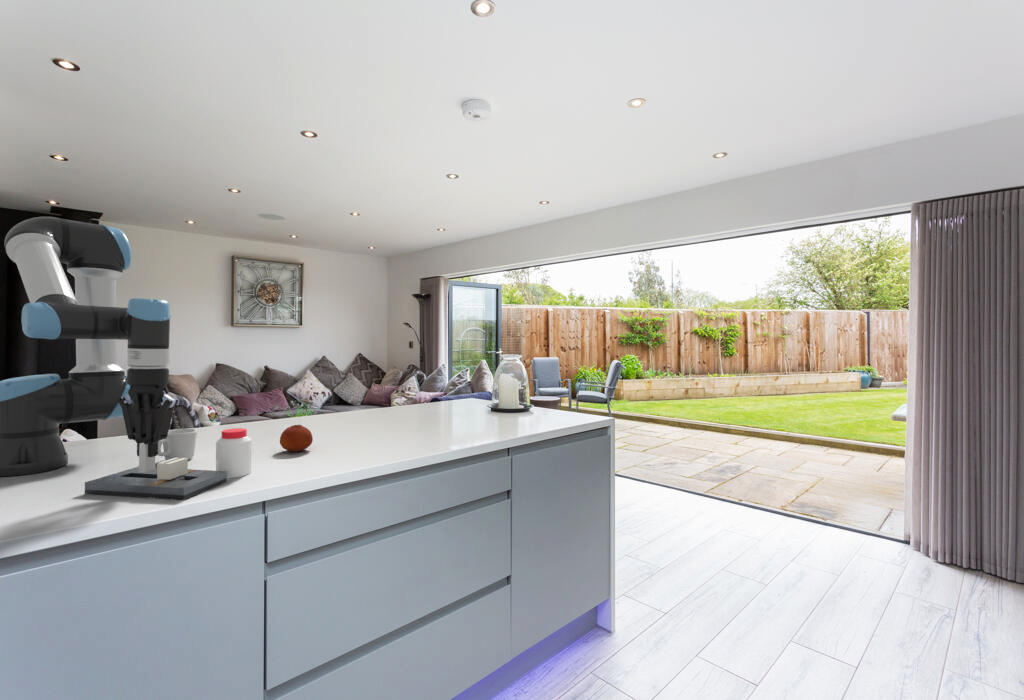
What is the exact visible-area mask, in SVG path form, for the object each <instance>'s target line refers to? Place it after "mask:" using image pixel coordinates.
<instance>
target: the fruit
mask: <svg viewBox="0 0 1024 700" xmlns="http://www.w3.org/2000/svg"><path fill="white" fill-rule="evenodd" d="M313 441H314V439H313V434H312V432H311V430H310V429H308V428H307V427H305V426H303V425H302V424H294V425H290V426H288V427H286V429H284V430H283V431H282V433H280V438H279V445H280V446H281V447H282V449H284V450H286V451H289V452H293V453H295V452H301V451H305V450H306V449H308V448H309V447H311V445H312V443H313Z"/></svg>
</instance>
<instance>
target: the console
mask: <svg viewBox="0 0 1024 700" xmlns="http://www.w3.org/2000/svg"><path fill="white" fill-rule="evenodd" d="M179 477H185V480H167V479H157V467H156V466H155V470H152V471H149V472H146V473H143V472H139V466H136V467H132V468H129V469H126V470H122V471H119V472H116V473H111V474H109V475H106V476H101V477H98V478H95V479H92V480H89V481H85V482H84V495H93V496H94V495H95V496H97V495H98V496H112V497H113V496H114V497H126V498H142V499H144V498H146V499H159V500H161V499H162V500H176V501H177V500H178V501H185V500H188V499H191V498H192V497H194V496H197V495H199V494H202V493H204V492H206V491H209V490H211V489H213V488H217V487H218V486H220V485H223V484H225V483H227V482H228V478H227V471H216V470H210V469H209V470H207V469H192V468H191V469H189V468H188V470H187V474H184V475H181V476H179Z"/></svg>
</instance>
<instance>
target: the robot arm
mask: <svg viewBox="0 0 1024 700" xmlns="http://www.w3.org/2000/svg"><path fill="white" fill-rule="evenodd" d="M4 248H5V252H6V255H7V256H8V258H9V259H10V260H11V261H12V262H13V263H15V264H16V266H17V269H18V273H19V275H20V277H21V281H22V283H23V286H24V289H25V293H26V294H27V298H28V301H29V302H26V303H25V304H24V305H23V307H22V309H21V327H22V332H23V334H24V335H25V336H26V337H28V338H32V339H46V340H75V358H76V359H75V360H76V361H75V362H76V363H75V364H76V365H75V366H74V367H73V368H72V369H70V371H68V378H62V379H61V376H60V374H58V373H44V374H34V375H26V376H25V375H24V376H19V377H18V376H17V377H11V378H7V379H3V380H0V477H10V476H22V475H30V474H37V473H41V472H47V471H52V470H56V469H59V468H62V467H65V466H66V465H68V464H69V455H68V452H66V451H67V450H66V448H65V446H64V443H63V441H62V439H61V437H60V428H59V427H60V424H70V423H80V422H81V423H82V422H93V421H107V420H110V419H118V418H122V417H123V420H124V425H125V426H124V427H125V429H126V434H127V438H128V440H132V441H134V442H135V443H136V457H138V462H139V463H138V467H139V472H143V473H146V472H149V471H152V470H155V467H156V457H157V456H158V455H157V454H158V442H159V441H160V440H163V439H166V438H167V435H168V431H169V430H170V426H171V424H172V423H171V422H172V418H173V415H174V410H175V408H176V406H177V404H178V403H179V399H178V398H176V397H174V398H173V397H172V396H170V395H169V390H168V388H167V385H168V384H169V383H170V370H169V368H168V366H169V365H170V328H171V327H170V324H171V321H170V320H171V317H172V316H171V311H170V309H171V308H170V304H169V303H170V302H168V301H167V300H164V299H159V298H158V299H155V298H142V297H141V298H139V297H138V298H137V297H136V298H135V297H134V298H130V299H129V300H128V303H127V307H119V306H118V307H117V280H118V279H119V278H121V277H122V276H123V275H124V272H123V271H125V270H128V269H129V268H130V267H131V263H132V262H131V259H132V250H131V249H132V248H131V245H130V241H129V239H128V237H127V236H126V234H125V232H124V231H122V230H121V229H119V228H118V227H112V226H108V225H107V226H106V225H105V224H97V223H91V222H86V221H85V222H83V221H80V220H79V221H78V220H72V219H71V220H70V219H65V218H59V217H54V216H38V217H31V218H28V219H25V220H22V221H21V222H18V223H17V224H15V225H14V226H13V227H11V228H10V230H9V231H8V232H7V234H6V235H5V237H4ZM62 264H66V271H67V273H69V274H70V275H71V276H73V277H74V291H75V292H74V291H73V289H72V286H71V285H70V282H69V280H68V277H67V275H66V273H65V271H64V268H63V265H62ZM118 340H120V341H121V340H126V341H127V366H128V367H130V368H127V370H125V369H123V368H122V367H121V366H120V365H119V363H118V362H119V361H118ZM125 371H126V373H125ZM125 374H126V375H125Z"/></svg>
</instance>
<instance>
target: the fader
mask: <svg viewBox="0 0 1024 700" xmlns="http://www.w3.org/2000/svg"><path fill="white" fill-rule="evenodd" d="M188 461H189V460H188V458H173V459H169V460H166V459H165V460H163V461H161V462H157V463H156V464H157V465H156V466H157V467H156V468H157V479H167V480H185V477H179V476H181V475H184V474H187V470H188V469H189V467H188Z"/></svg>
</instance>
